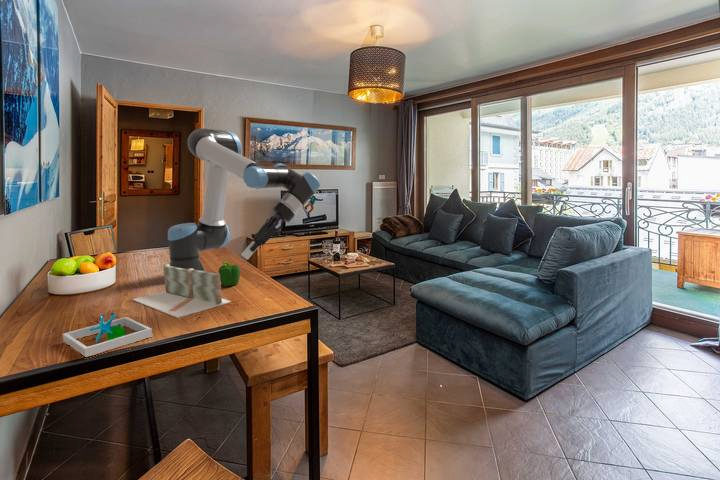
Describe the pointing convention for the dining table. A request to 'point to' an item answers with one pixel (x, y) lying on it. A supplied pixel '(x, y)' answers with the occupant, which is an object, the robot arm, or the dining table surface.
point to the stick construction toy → (109, 329)
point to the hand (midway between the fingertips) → (244, 257)
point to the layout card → (176, 303)
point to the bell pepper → (229, 274)
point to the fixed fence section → (178, 280)
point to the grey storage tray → (97, 348)
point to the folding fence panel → (206, 286)
